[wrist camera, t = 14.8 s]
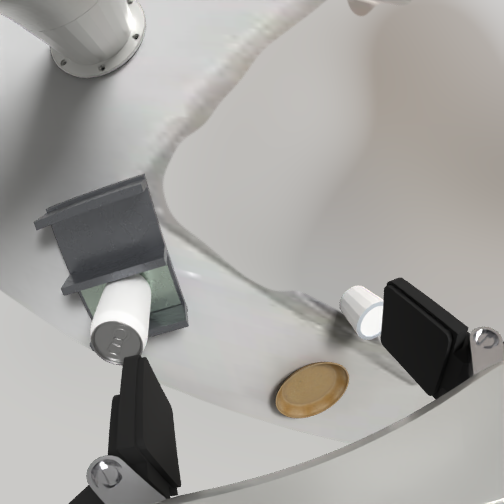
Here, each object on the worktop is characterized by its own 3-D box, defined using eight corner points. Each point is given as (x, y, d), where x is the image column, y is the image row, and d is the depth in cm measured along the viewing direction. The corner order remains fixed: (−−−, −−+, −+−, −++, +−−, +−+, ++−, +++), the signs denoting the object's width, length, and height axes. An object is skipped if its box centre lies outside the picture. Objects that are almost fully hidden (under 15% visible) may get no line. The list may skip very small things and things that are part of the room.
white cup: (333, 320, 52) (352, 343, 45) (339, 283, 49) (361, 304, 43) (366, 315, 53) (387, 336, 47) (374, 280, 51) (397, 299, 44)
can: (159, 281, 41) (156, 332, 30) (141, 318, 42) (135, 375, 31) (114, 261, 38) (96, 308, 27) (99, 301, 40) (81, 354, 29)
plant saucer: (259, 407, 56) (263, 416, 53) (292, 349, 52) (297, 358, 50) (321, 410, 61) (325, 418, 58) (356, 358, 57) (362, 366, 55)
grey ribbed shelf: (48, 207, 35) (32, 218, 30) (144, 173, 37) (139, 179, 32) (100, 331, 42) (94, 353, 37) (187, 307, 44) (189, 329, 39)
